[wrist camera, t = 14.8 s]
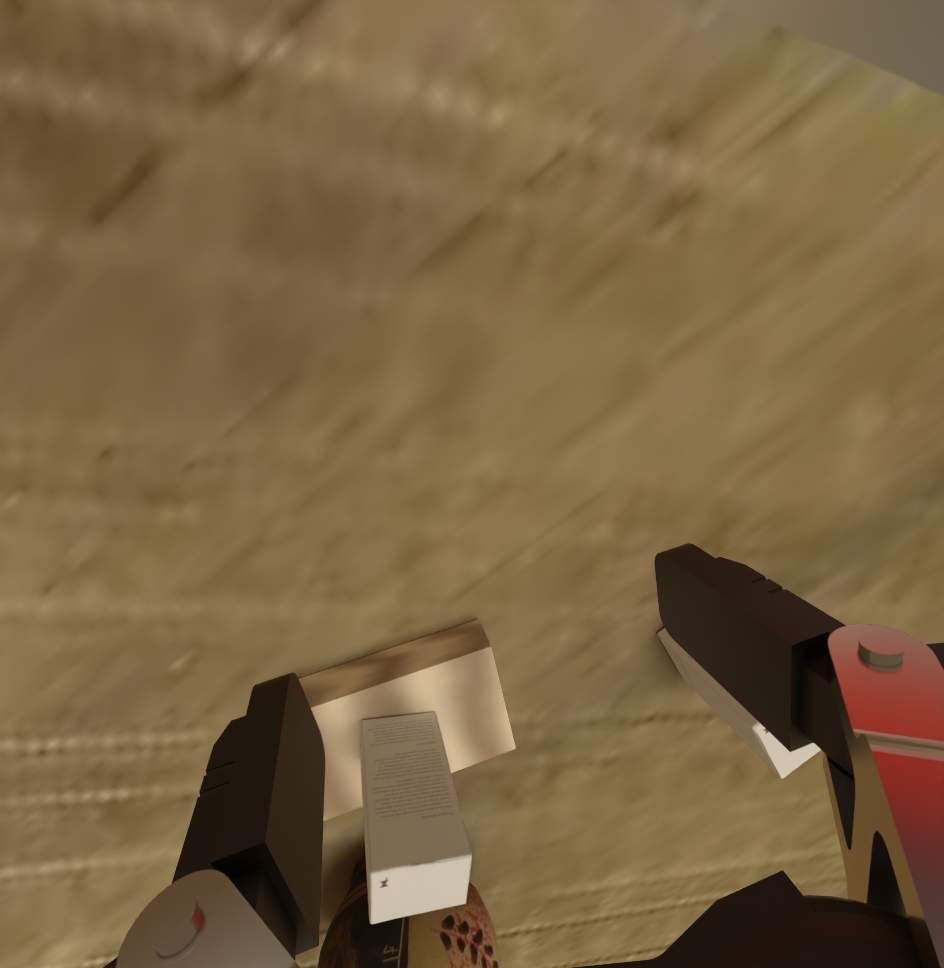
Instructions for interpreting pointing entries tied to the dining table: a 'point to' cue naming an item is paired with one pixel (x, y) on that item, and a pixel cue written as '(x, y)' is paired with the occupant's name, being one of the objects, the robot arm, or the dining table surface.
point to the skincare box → (411, 819)
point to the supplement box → (736, 713)
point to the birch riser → (410, 704)
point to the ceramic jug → (409, 935)
